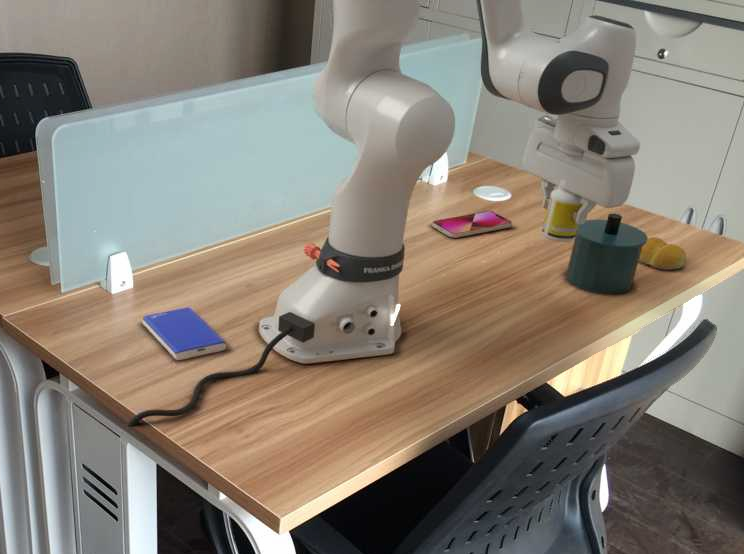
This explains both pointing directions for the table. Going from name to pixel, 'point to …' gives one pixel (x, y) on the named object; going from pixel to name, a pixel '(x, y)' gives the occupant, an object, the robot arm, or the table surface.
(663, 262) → the bread roll
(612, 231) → the pot lid
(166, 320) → the hard drive
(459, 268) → the table surface
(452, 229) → the smartphone
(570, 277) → the pot
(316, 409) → the table surface
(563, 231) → the supplement bottle
